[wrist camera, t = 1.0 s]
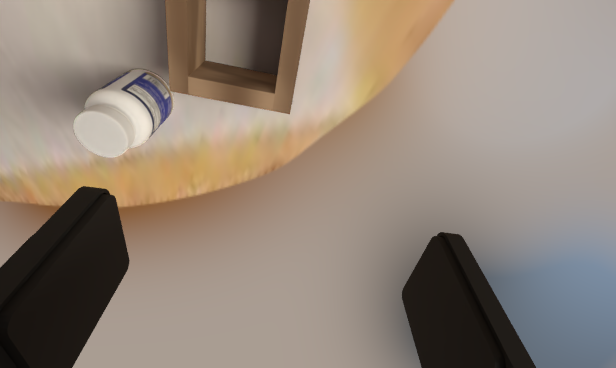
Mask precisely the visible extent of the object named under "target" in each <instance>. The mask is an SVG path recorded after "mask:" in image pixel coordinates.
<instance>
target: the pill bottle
mask: <svg viewBox="0 0 616 368" xmlns="http://www.w3.org/2000/svg"><path fill="white" fill-rule="evenodd" d="M173 107H174V97H173V94H172V91H170V87H169V86H168V84H167V83H166V82H165V81H164V80H163V79H162V78H161V77H160V76H158V75H156V74H155V73H153V72H150V71H147V70H143V69H135V70H131V71H128V72H126V73H124V74H123V75H121V76H119V77H118V78H116V79H115V80H113V81H111V82H110V83H108V84H106V85H105V86H103V87H102V88H100V89H98V90H97V91H95V92H94V93H93V94H91V95H90V96H89V98H88V99H87V101H86V103H85V106H84V111H82V112H81V113H80V114H78V115H77V116H76V118H75V120H74V122H73V130H74V133H75V136H76V138H77V139H78V141H79V142H80V143H81V144H82V145H83V146H84V147H85V148H86V149H87V150H89V151H90V152H92V153H94V154H96V155H99V156H102V157H109V158H112V157H117V156H120V155H121V154H123V153H124V152H125V151H126V150H127V149H129V148H134V147H138V146H140V145H142V144H143V143H145V142H146V141H147V140H148V139H149V138H150V136H151V135H152V134H153V133H154V132H155V131H156V130H157V128H158V127H159V126H160V125H161V124H162V123H163V122H164V121H165V120H166V118H167V117H168V116H169V115H170V114H171V112H172V110H173Z"/></svg>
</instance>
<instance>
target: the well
mask: <svg viewBox="0 0 616 368" xmlns="http://www.w3.org/2000/svg"><path fill="white" fill-rule="evenodd" d="M309 3H310V0H288V5H287V12H286V19H285V26H284V33H283V40H282V47H281V54H280V61H279V68H278V75H273V74H268V73H263V72H259V71H254V70H249V69H244V68H239V67H234V66H229V65H224V64H219V63H214V62H210V61H205V42H206V0H165V8H166V27H167V47H168V66H169V85H170V91H172V92H177V93H182V94H188V95H193V96H198V97H203V98H208V99H214V100H219V101H224V102H229V103H234V104H240V105H245V106H250V107H255V108H260V109H266V110H271V111H276V112H281V113H286V114H290V110H291V104H292V99H293V93H294V87H295V82H296V76H297V71H298V65H299V59H300V54H301V48H302V42H303V37H304V31H305V25H306V20H307V14H308V9H309Z"/></svg>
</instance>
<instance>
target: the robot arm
mask: <svg viewBox="0 0 616 368" xmlns="http://www.w3.org/2000/svg"><path fill="white" fill-rule="evenodd" d="M128 266H129V257H128V252H127V248H126V243H125V238H124V234H123V230H122V225H121V220H120V216H119V211H118V207H117V202H116V198H115V196H113V195H110V193H109V191H108V190H107V189H102V188H94V187H86V186H83V187H81V188H79V189H78V190H77V191H76V192H75V193H74V194H73V195H72V196H71V197H70V198H69V199H68V200H67V201H66V202H65V203H64V204H63V205H62V206H61V207H60V208H59V210H57V212H55V214H54V215H53V216H52V217H51V218H50V219H49V220H48V221H47V222H46V223H45V224H44V225H43V226H42V227H41V228H40V229H39V230H38V231H37V232H36V233H35V234H34V235H32V236H31V237H30V238H29V239H28V240H27V241H26V242H25V243H24V244H23V245H22V246H21V247H20V248H19V249H18V250H17V251H16V253H14V254H13V255H12V256H11V257H10V258H9V259H8V261H7V262H6V263H5V264H4V265H3V266H2V267H1V268H0V368H72V367H73V365H74V363H75V361H76V360H77V358H78V356H79V355H80V353H81V351H82V349H83V347H84V346H85V344H86V342H87V340H88V339H89V337H90V335H91V333H92V332H93V330H94V328H95V326H96V325H97V323H98V321H99V319H100V317H101V316H102V314H103V312H104V310H105V309H106V307H107V305H108V303H109V302H110V300H111V298H112V296H113V294H114V293H115V291H116V289H117V288H118V285H119V284H120V282H121V281H122V279H123V277H124V275H125V273H126V272H127V269H128ZM402 300H403V303H404V307H405V310H406V314H407V318H408V321H409V325H410V328H411V332H412V335H413V339H414V342H415V346H416V349H417V353H418V356H419V360H420V363H421V367H422V368H536V366H535V365H534V363H533V361H532V359H531V358H530V356H529V354H528V352H527V351H526V349H525V347H524V345H523V344H522V342H521V340H520V338H519V336H518V335H517V333H516V331H515V329H514V328H513V326H512V324H511V322H510V320H509V319H508V317H507V315H506V313H505V312H504V310H503V308H502V306H501V304H500V303H499V301H498V299H497V297H496V296H495V294H494V292H493V290H492V288H491V287H490V285H489V283H488V281H487V279H486V278H485V276H484V274H483V272H482V271H481V269H480V267H479V265H478V263H477V262H476V260H475V258H474V256H473V255H472V253H471V251H470V250H469V247H468V246H467V244H466V242H465V241H464V239H463V237H462V236H460V235H459V234H451V233H444V232H440V233H439V234H438V235H437V236H434V237H432V239H431V240H430V242H429V244H428V245H427V247H426V249H425V251H424V253H423V254H422V256H421V258H420V260H419V261H418V263H417V265H416V267H415V269H414V270H413V272H412V274H411V276H410V277H409V279H408V281H407V283H406V284H405V286H404V288H403V291H402Z"/></svg>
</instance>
